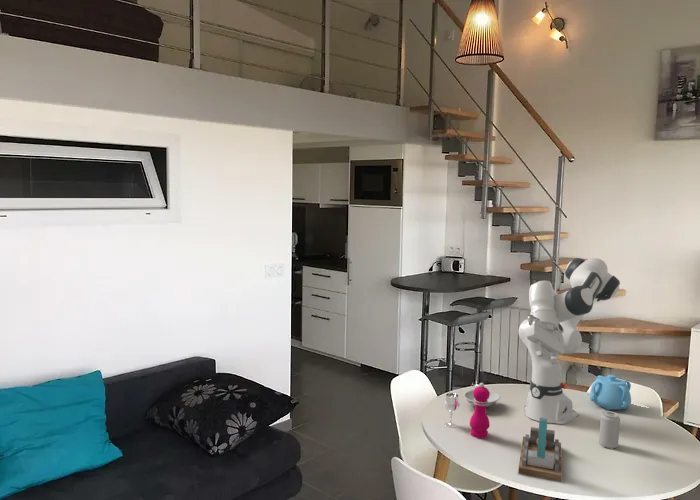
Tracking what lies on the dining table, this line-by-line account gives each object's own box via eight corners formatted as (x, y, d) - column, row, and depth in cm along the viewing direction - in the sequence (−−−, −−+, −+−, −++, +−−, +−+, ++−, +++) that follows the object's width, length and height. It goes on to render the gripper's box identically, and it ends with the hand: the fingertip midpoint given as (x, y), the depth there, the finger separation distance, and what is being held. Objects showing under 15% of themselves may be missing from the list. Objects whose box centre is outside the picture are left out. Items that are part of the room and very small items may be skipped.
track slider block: (527, 458, 194) (530, 414, 193) (553, 462, 192) (556, 418, 190) (527, 464, 190) (530, 420, 188) (553, 469, 187) (556, 424, 185)
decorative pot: (634, 406, 254) (637, 375, 252) (625, 416, 241) (627, 384, 240) (595, 396, 264) (598, 367, 262) (584, 406, 251) (586, 375, 250)
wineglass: (454, 429, 222) (456, 398, 220) (440, 425, 225) (442, 395, 224) (460, 424, 227) (462, 394, 225) (446, 421, 230) (448, 391, 228)
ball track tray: (522, 441, 213) (524, 423, 212) (560, 448, 208) (562, 429, 208) (518, 473, 188) (519, 452, 188) (561, 481, 184) (562, 460, 183)
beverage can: (616, 443, 214) (619, 412, 213) (618, 450, 208) (621, 418, 207) (598, 440, 216) (600, 409, 215) (599, 447, 210) (601, 415, 209)
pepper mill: (489, 440, 213) (492, 387, 211) (469, 437, 215) (472, 385, 213) (488, 432, 220) (491, 380, 218) (469, 430, 222) (471, 378, 220)
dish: (485, 417, 235) (485, 405, 234) (455, 407, 245) (455, 395, 244) (506, 406, 248) (507, 395, 247) (477, 397, 257) (478, 386, 257)
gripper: (536, 310, 200) (539, 348, 193) (565, 330, 211) (569, 366, 204) (520, 314, 204) (522, 352, 197) (549, 333, 215) (553, 369, 209)
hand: (546, 359), depth 201 cm, fingers open, 8 cm apart
